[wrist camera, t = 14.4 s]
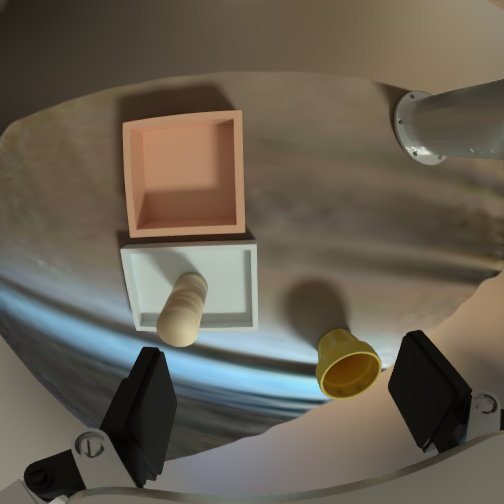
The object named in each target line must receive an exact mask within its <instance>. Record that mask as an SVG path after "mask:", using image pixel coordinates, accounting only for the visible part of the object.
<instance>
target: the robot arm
mask: <svg viewBox="0 0 504 504" xmlns="http://www.w3.org/2000/svg"><path fill="white" fill-rule="evenodd" d="M394 128H395V133H396V136H397V139H398V141H399V143H400V145H401V147H402V148H403V150H404V151H405V152H406V153H407V154H408V156H409V157H411V158H412V159H413V160H414V161H416V162H418V163H421V164H425V165H436V164H438V163H440V162H442V161H443V160H444V159H445V158H446V157H447V156H453V157H469V158H481V159H492V160H504V79H502V80H498V81H493V82H489V83H485V84H480V85H475V86H471V87H466V88H462V89H457V90H453V91H449V92H445V93H441V94H437V95H433V96H432V95H431V94H429V93H426V92H423V91H412V92H409V93H407V94H405V95H404V96H402V97H401V98H400V100H399V101H398V103H397V105H396V107H395V111H394ZM388 390H389V392H390V394H391V396H392V398H393V400H394V402H395V403H396V405H397V407H398V409H399V411H400V413H401V415H402V417H403V418H404V420H405V422H406V424H407V426H408V428H409V430H410V432H411V434H412V436H413V438H414V440H415V441H416V444H417V446H418V447H420V448H422V450H423V452H424V453H426V452H428V451H431V450H433V449H435V448H437V450H438V452H437V455H436V456H434V457H431V458H429V459H427V460H424V461H421V462H418V463H416V464H413V465H410V466H408V467H405V468H402V469H399V470H396V471H393V472H390V473H386V474H383V475H380V476H376V477H372V478H369V479H365V480H361V481H357V482H353V483H348V484H343V485H339V486H333V487H328V488H323V489H316V490H310V491H301V492H293V493H283V494H269V495H244V496H243V495H238V496H237V495H235V496H234V495H233V496H232V495H204V494H190V493H179V492H170V491H162V490H152V489H145V488H144V486H143V485H145V484H146V480H152V481H156V477H157V475H160V474H161V473H162V470H163V465H164V461H165V456H166V451H167V447H168V442H169V438H170V434H171V429H172V425H173V421H174V417H175V412H176V408H177V399H176V396H175V392H174V389H173V385H172V381H171V378H170V374H169V370H168V366H167V363H166V359H165V355H164V352H163V351H160V350H159V348H157V347H143V348H142V349H141V351H140V354H139V356H138V358H137V360H136V362H135V364H134V366H133V368H132V370H131V372H130V374H129V376H128V378H124V379H123V380H122V381H121V383H120V385H119V387H118V390H117V392H116V394H115V396H114V398H113V400H112V402H111V404H110V406H109V409H108V411H107V413H106V415H105V417H104V420H103V422H102V424H101V426H100V428H99V429H96V428H87V429H83V430H81V431H79V432H78V433H77V434H76V435H74V437H73V439H72V441H71V449H69V450H67V451H64V452H61V453H59V454H56V455H53V456H51V457H48V458H45V459H42V460H39V461H36V462H34V463H32V464H30V465H29V466H28V467H27V468H26V470H25V473H24V480H23V481H20V480H19V479H18V480H17V481H15V482H14V483H12V484H11V485H10V486H8V487H7V488H5V489H4V490H2V491H1V492H0V504H504V410H503V409H501V406H500V402H499V400H498V398H497V397H496V396H495V395H493V394H492V393H489V392H487V391H482V392H478V393H476V394H474V396H473V397H472V395H471V392H472V389H471V388H470V387H469V385H468V384H467V383H466V382H465V381H464V379H463V378H462V377H461V375H460V374H459V373H458V372H457V371H456V369H455V368H454V367H453V366H452V365H451V364H450V362H449V361H448V360H447V359H446V358H445V356H444V355H443V354H442V353H441V352H440V351H439V349H438V348H437V347H436V346H435V345H434V344H433V343H432V342H431V340H430V339H429V338H428V337H427V336H426V335H425V334H424V333H423V331H421V330H416V331H411V332H408V333H407V334H406V336H404V337H403V339H402V343H401V346H400V350H399V353H398V356H397V359H396V362H395V366H394V369H393V372H392V375H391V377H390V380H389V383H388Z"/></svg>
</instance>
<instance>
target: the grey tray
mask: <svg viewBox="0 0 504 504" xmlns="http://www.w3.org/2000/svg"><path fill="white" fill-rule="evenodd" d="M120 251H121V257H122V263H123V269H124V275H125V280H126V285H127V290H128V295H129V300H130V304H131V309H132V313H133V318H134V322H135V326H136V330H137V331H157V330H156V323H157V320H158V318H159V316H160V314H161V312H162V309H163V307H164V305H165V303H166V301H167V299H168V297H169V295H170V293H171V291H172V289H173V287H174V285H175V283H176V281H177V279H178V277H179V276H180V275H182V274H183V273H186V272H195V273H198V274H200V275H201V276H203V277H204V279H205V280H206V282H207V285H208V291H207V295H206V299H205V304H204V308H203V312H202V317H201V321H200V326H199V330H198V332H240V331H258V293H257V244H256V240H226V241H198V242H172V243H149V244H126V245H125V246H124V247H122V248H121V249H120Z"/></svg>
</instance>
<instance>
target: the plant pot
mask: <svg viewBox="0 0 504 504" xmlns="http://www.w3.org/2000/svg"><path fill="white" fill-rule="evenodd" d="M381 367H382V365H381V360H380V358H379V356H378V355H377V353H376V352H375V351H374V349H373V348H372V347H371V346H370V345H369V344H368V343H366V342H363V341H359V340H358V339H357V338H356V337H355V336H353V335H352V334H351V333H350V332H349V331H347V330H345V329H335V330H332V331H330V332H328V333H326V334H325V335H324V336H323V337H322V338H321V340H320V341H319V344H318V364H317V367H316V376H317V380H318V384H319V387H320V389H321V391H322V392H323V394H324V395H326V396H327V397H329V398H332V399H348V398H352V397H355V396H357V395H359V394H361V393H363V392H365V391H366V390H367V389H369V388H370V387H371V386H372V385H373V384H374V383H375V382H376V380H377V378H378V377H379V375H380V372H381Z"/></svg>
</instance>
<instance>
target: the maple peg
mask: <svg viewBox="0 0 504 504" xmlns="http://www.w3.org/2000/svg"><path fill="white" fill-rule="evenodd" d="M207 291H208V285H207V282H206V280H205V279H204V277H203V276H201V275H200V274H198V273H195V272H186V273H183V274H182V275H180V276H179V277H178V279H177V281H176V283H175V285H174V287H173V289H172V291H171V293H170V295H169V297H168V299H167V301H166V303H165V305H164V307H163V309H162V312H161V314H160V316H159V318H158V320H157V323H156V330H157V333H158V335H159V336H160V338H161V339H162V340H163V341H164V342H166V343H168V344H169V345H172V346H176V347H185V346H188V345H190V344H192V343H193V342H194V341H195V340H196V338H197V335H198V330H199V326H200V321H201V317H202V312H203V308H204V304H205V299H206V295H207Z"/></svg>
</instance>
